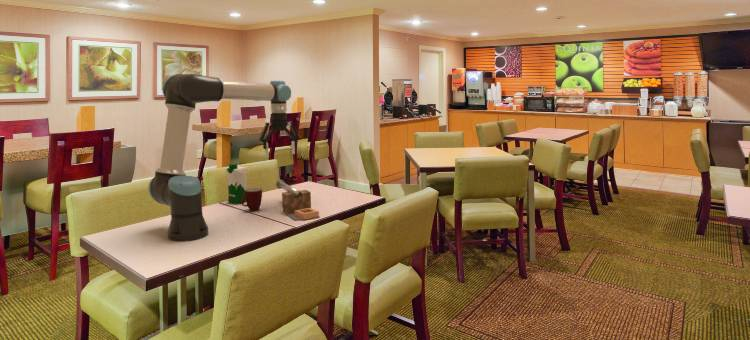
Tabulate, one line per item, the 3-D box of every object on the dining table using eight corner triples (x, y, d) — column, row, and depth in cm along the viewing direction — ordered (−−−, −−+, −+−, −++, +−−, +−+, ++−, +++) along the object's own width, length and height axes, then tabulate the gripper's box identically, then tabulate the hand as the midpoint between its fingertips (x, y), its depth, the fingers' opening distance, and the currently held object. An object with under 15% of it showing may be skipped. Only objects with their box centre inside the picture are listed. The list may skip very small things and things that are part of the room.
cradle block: (286, 215, 219) (286, 195, 217) (282, 212, 224) (282, 192, 222) (311, 211, 224) (310, 192, 223) (306, 208, 229) (306, 189, 228)
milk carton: (225, 202, 242) (223, 164, 238) (239, 199, 249) (237, 161, 246) (237, 205, 237) (235, 165, 234) (251, 201, 245) (249, 163, 241)
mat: (294, 220, 209) (294, 220, 209) (286, 215, 219) (286, 214, 219) (319, 217, 215) (319, 216, 215) (311, 211, 224) (311, 210, 224)
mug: (247, 214, 220) (246, 193, 219) (237, 211, 226) (236, 190, 224) (266, 209, 228) (265, 189, 226) (256, 206, 233) (255, 187, 232)
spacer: (294, 215, 216) (303, 219, 210) (294, 210, 215) (303, 214, 209) (309, 212, 221) (318, 216, 214) (309, 207, 220) (318, 211, 214)
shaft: (301, 198, 223) (301, 188, 222) (292, 199, 221) (292, 189, 220) (284, 187, 246) (284, 179, 245) (276, 188, 243) (275, 180, 243)
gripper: (255, 113, 225) (257, 157, 228) (305, 112, 236) (306, 154, 240) (251, 112, 231) (253, 155, 235) (300, 111, 243) (301, 152, 247)
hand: (280, 154), depth 237 cm, fingers open, 13 cm apart
